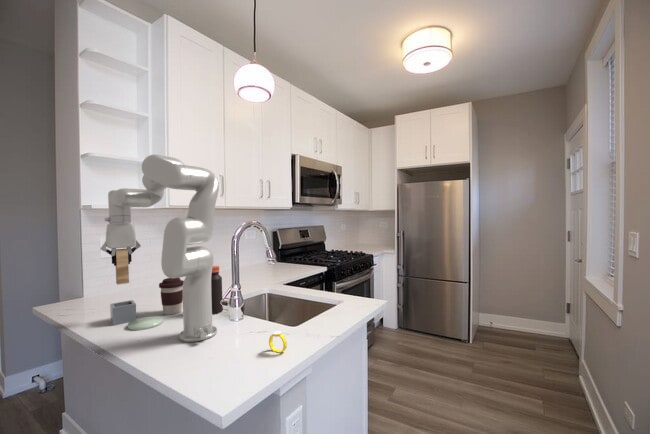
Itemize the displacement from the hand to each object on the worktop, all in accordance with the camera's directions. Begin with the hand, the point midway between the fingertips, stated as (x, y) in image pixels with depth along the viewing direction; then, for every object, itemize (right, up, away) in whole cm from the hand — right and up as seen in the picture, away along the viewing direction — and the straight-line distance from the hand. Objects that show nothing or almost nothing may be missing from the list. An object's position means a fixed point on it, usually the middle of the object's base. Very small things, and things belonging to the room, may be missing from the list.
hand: (121, 264), depth 126 cm
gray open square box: (0, -23, 0) cm, 23 cm away
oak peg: (0, -8, 0) cm, 8 cm away
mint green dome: (+13, -23, -5) cm, 27 cm away
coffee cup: (+16, -23, +10) cm, 30 cm away
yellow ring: (+69, -22, -32) cm, 79 cm away
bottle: (+35, -23, +9) cm, 43 cm away
